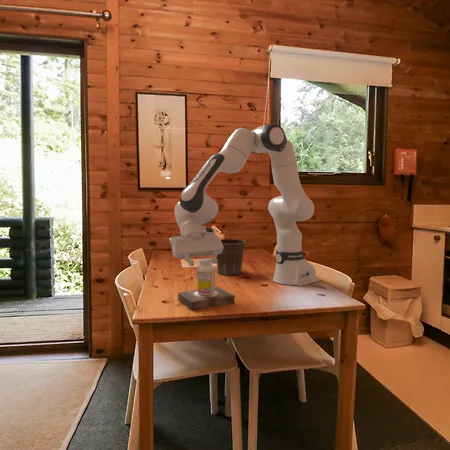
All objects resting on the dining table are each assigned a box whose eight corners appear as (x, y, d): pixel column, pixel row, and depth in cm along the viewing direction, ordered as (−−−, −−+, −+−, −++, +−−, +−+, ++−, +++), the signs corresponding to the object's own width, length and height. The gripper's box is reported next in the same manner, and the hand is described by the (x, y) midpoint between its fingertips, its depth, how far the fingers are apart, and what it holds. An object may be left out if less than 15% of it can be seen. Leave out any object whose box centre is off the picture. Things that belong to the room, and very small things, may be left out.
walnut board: (218, 294, 138) (218, 286, 138) (234, 303, 127) (234, 294, 126) (178, 300, 130) (178, 291, 130) (191, 310, 119) (191, 301, 118)
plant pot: (242, 277, 165) (243, 244, 164) (210, 275, 168) (210, 242, 167) (247, 270, 181) (247, 239, 180) (217, 268, 184) (217, 238, 183)
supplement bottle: (205, 289, 133) (205, 256, 131) (218, 292, 129) (218, 258, 127) (193, 293, 128) (192, 259, 126) (206, 297, 123) (206, 261, 122)
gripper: (169, 231, 129) (179, 261, 122) (218, 228, 139) (230, 256, 131) (166, 241, 134) (175, 271, 126) (213, 238, 143) (224, 266, 136)
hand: (203, 264), depth 129 cm, fingers open, 8 cm apart
